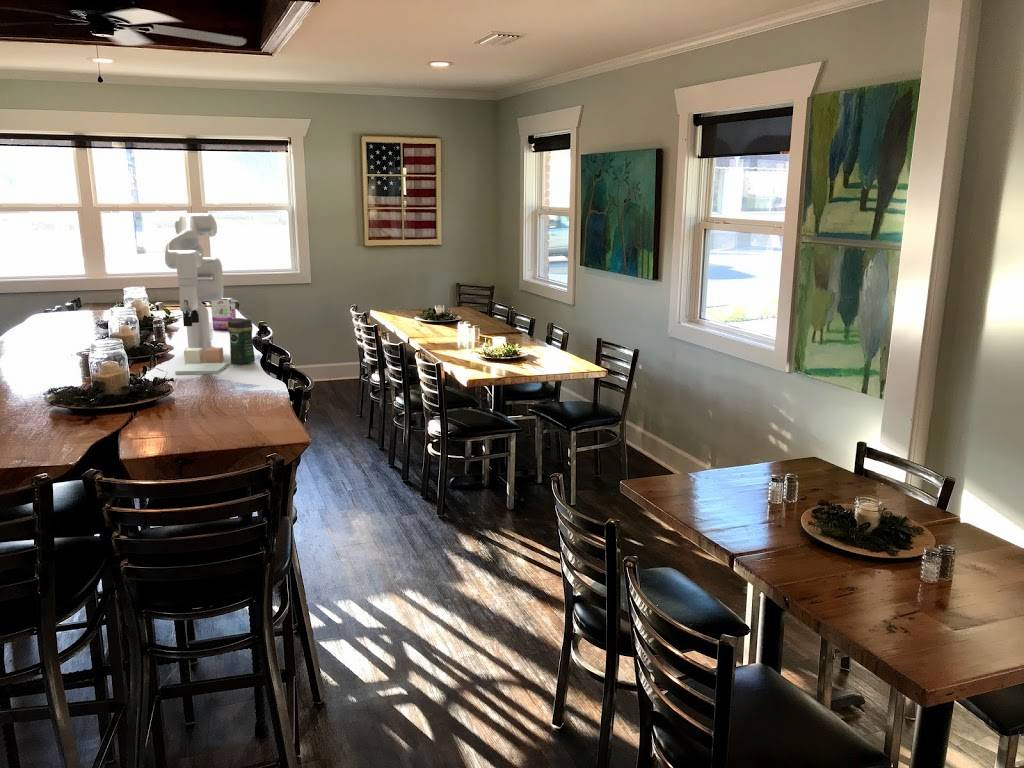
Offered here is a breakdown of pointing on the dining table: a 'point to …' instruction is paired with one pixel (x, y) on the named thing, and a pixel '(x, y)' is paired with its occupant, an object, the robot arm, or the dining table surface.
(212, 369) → the board
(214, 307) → the candy bar box
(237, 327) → the coffee jar
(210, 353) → the terracotta block
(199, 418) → the dining table surface
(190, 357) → the cream block
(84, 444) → the dining table surface
